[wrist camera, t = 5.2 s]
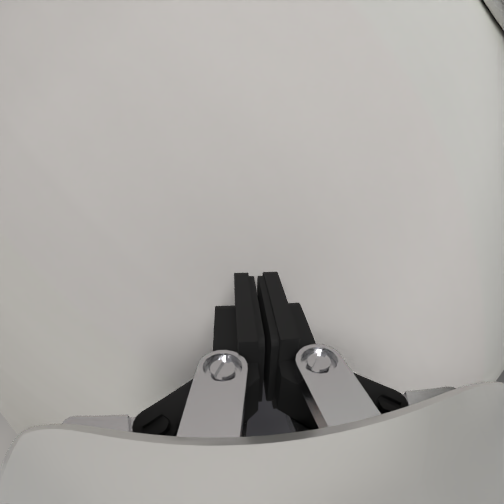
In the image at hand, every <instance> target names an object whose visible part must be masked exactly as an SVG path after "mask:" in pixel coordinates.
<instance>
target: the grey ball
mask: <svg viewBox="0 0 504 504" xmlns="http://www.w3.org/2000/svg"><path fill="white" fill-rule="evenodd" d="M285 433H291V431H290V428H289V426H288V424H287V421H286V414H285V413H283V412H281V411H279V410H278V409H273V405H272V401H266V396H265V389H264V382H263V394H262V402H259V403H258V411H257V412H256V413H255V414H254V415H253V416H252V417H251V418H250V419H248V429H247V437H251V436H265V435H276V434H285Z"/></svg>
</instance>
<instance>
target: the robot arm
mask: <svg viewBox="0 0 504 504" xmlns="http://www.w3.org/2000/svg"><path fill="white" fill-rule="evenodd" d="M483 1H484V2H485V4H486V5H487V7H488V8H489V10H490V11H491V13H492V14H493V16H494V18H495V19H496V20H497V22H498V23H499V25H500V26H501V28H502V29H503V31H504V0H483ZM234 285H235V306H215V320H214V340H213V352H210V353H208V354H206V355H205V356H203V357H202V358H201V359H200V361H199V363H198V365H197V369H196V372H195V375H194V378H193V379H192V380H191V381H189V382H188V383H186V384H185V385H183V386H182V387H180V388H179V389H177V390H176V391H174V392H173V393H171V394H169V395H168V396H166V397H165V398H163V399H162V400H160V401H158V402H157V403H155V404H154V405H152V406H150V407H149V408H147V409H145V410H144V411H142V412H141V413H140V414H139V415H137V417H129V416H128V415H108V416H72V417H69V418H67V419H66V420H64V421H63V423H62V424H47V425H39V426H34V427H31V428H28V429H26V430H24V431H22V432H21V433H20V434H19V435H18V436H17V437H16V438H15V440H14V441H13V443H12V444H11V446H10V448H9V450H8V452H7V454H6V456H5V458H4V460H3V463H2V465H1V468H0V504H504V383H501V382H480V383H475V384H470V385H466V386H463V387H459V388H454V387H441V388H434V389H425V390H416V391H406V392H405V393H404V395H402V394H401V393H399V392H398V391H396V390H394V389H391V388H389V387H386V386H384V385H381V384H379V383H376V382H374V381H371V380H369V379H367V378H364V377H362V376H360V375H357V374H355V373H353V372H352V371H351V369H350V368H349V366H348V365H347V363H346V362H345V360H344V359H343V357H342V356H341V355H340V353H339V352H338V351H337V350H335V349H334V348H332V347H330V346H327V345H323V344H316V343H315V341H314V338H313V335H312V333H311V330H310V328H309V325H308V323H307V320H306V318H305V315H304V313H303V310H302V308H301V305H300V304H299V303H288V302H287V299H286V296H285V293H284V290H283V287H282V284H281V281H280V278H279V275H278V273H277V272H263V276H258V280H257V292H256V286H255V280H254V276H249V275H248V273H234ZM263 382H264V389H265V396H266V401H272V405H273V409H278V410H279V411H281V412H283V413H285V414H286V421H287V424H288V426H289V428H290V431H291V433H285V434H276V435H265V436H251V437H247V429H248V419H250V418H251V417H252V416H253V415H254V414H255V413H256V412H257V411H258V403H259V402H262V394H263Z"/></svg>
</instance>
